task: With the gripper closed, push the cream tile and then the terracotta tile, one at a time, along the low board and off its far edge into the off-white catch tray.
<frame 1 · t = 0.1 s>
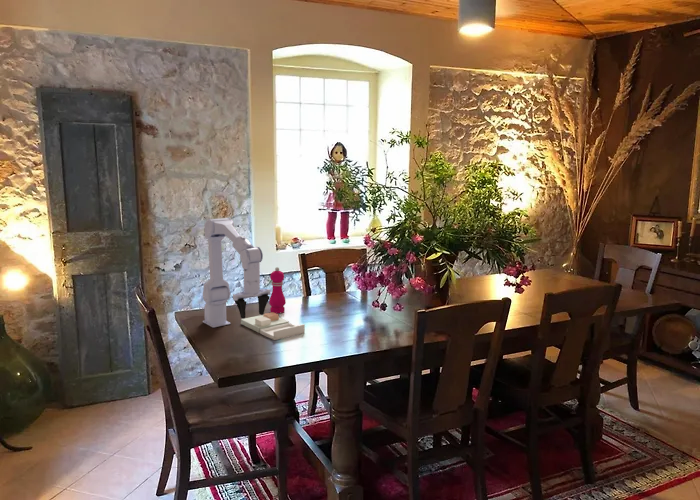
hand: (252, 316, 207), 10 cm above the table, tool pointing down, fingers open, 7 cm apart
tile cream: (263, 323, 224), point 2 cm above the table, touching board
tile terracotta: (271, 318, 231), point 2 cm above the table, touching board
tray: (282, 333, 219), on the table
board: (264, 325, 229), on the table
pepper mill: (277, 311, 248), on the table
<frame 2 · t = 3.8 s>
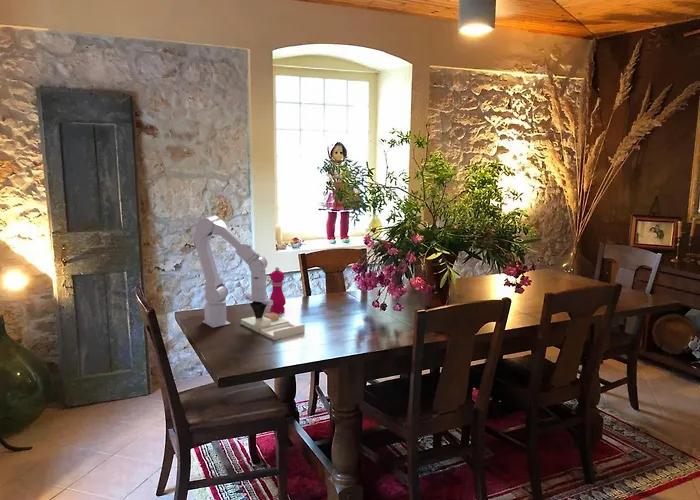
hand: (259, 319, 226), 3 cm above the table, tool pointing down, fingers closed
tile cream: (263, 324, 224), point 2 cm above the table, touching board, gripper
everything else where it was.
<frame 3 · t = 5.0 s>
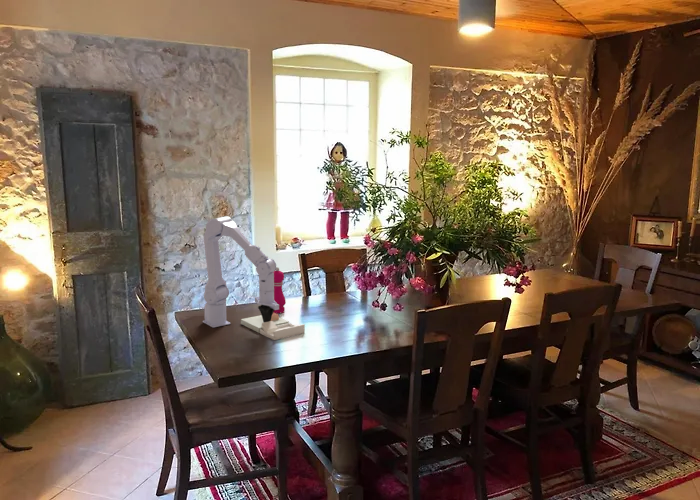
hand: (266, 323, 222), 3 cm above the table, tool pointing down, fingers closed
tile cream: (269, 329, 220), point 1 cm above the table, tilted 21°, touching gripper
everything else where it was.
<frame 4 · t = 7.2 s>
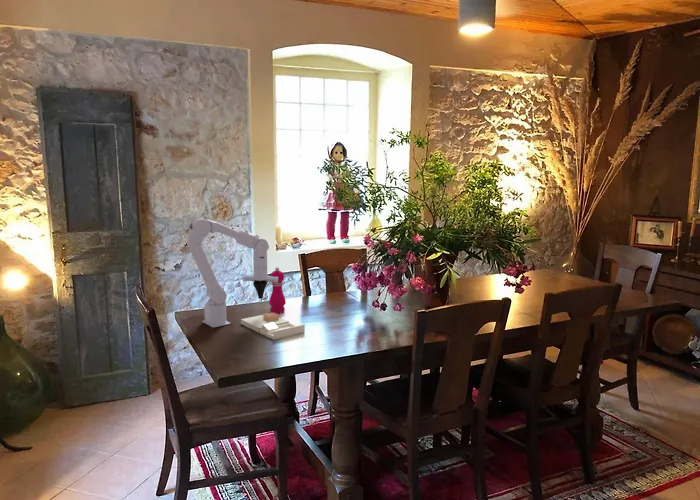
hand: (260, 298, 235), 9 cm above the table, tool pointing down, fingers closed
tile cream: (269, 330, 219), point 1 cm above the table, tilted 15°, touching tray
everything else where it was.
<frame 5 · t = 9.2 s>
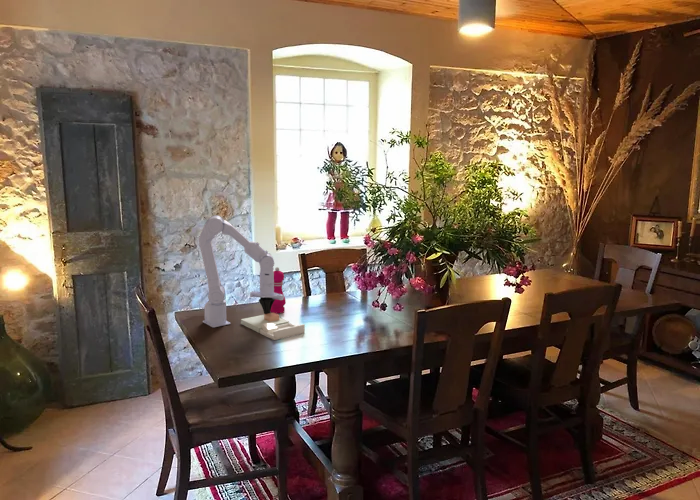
hand: (267, 315, 233), 3 cm above the table, tool pointing down, fingers closed
nothing on the table moved.
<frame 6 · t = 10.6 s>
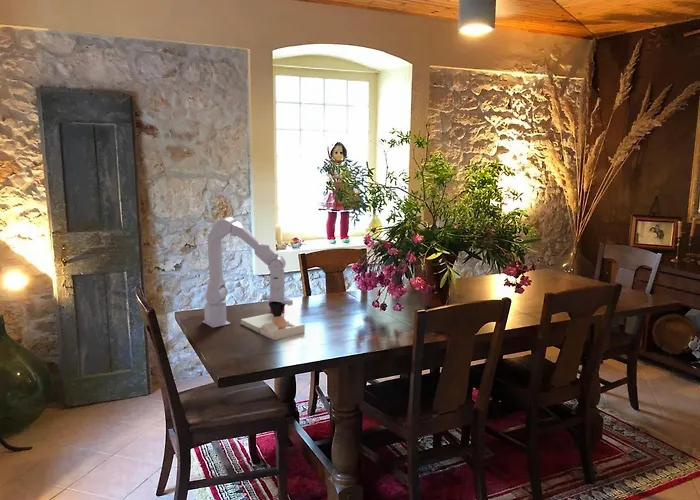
hand: (277, 319, 227), 3 cm above the table, tool pointing down, fingers closed
tile terracotta: (278, 324, 224), point 2 cm above the table, tilted 36°, touching gripper
everything else where it was.
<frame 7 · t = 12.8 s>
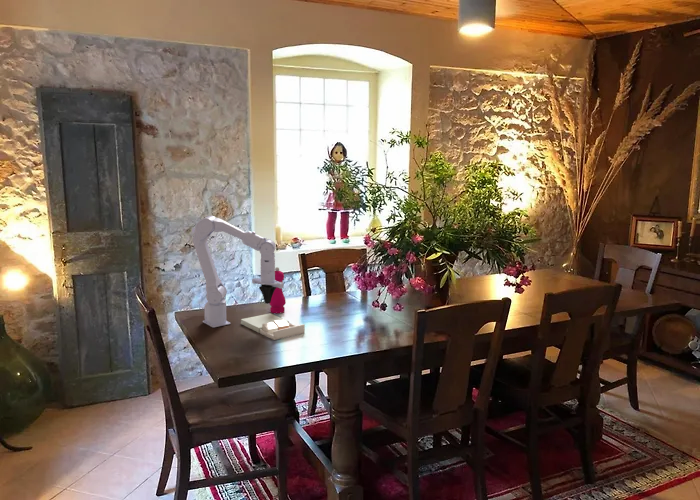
hand: (267, 302, 228), 9 cm above the table, tool pointing down, fingers closed
tile terracotta: (281, 327, 223), point 1 cm above the table, tilted 14°, touching tray
everything else where it was.
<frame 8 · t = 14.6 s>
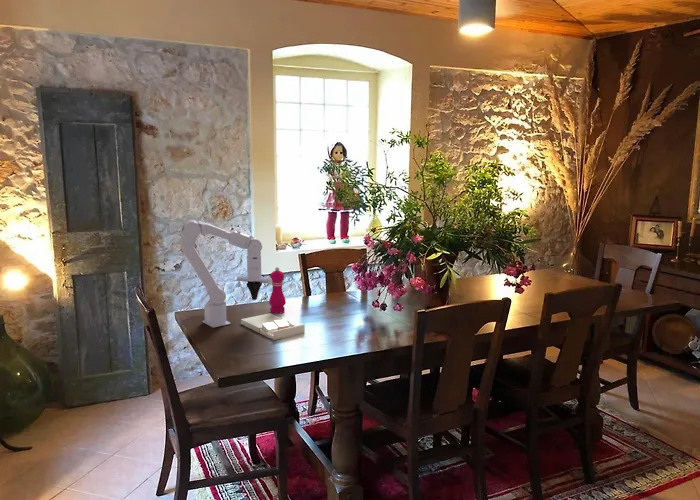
hand: (254, 299, 232), 9 cm above the table, tool pointing down, fingers closed
nothing on the table moved.
at the end: tile cream inside the target area (4.8 cm from its centre), point 1.1 cm above the table; tile terracotta inside the target area (3.7 cm from its centre), point 1.1 cm above the table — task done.
